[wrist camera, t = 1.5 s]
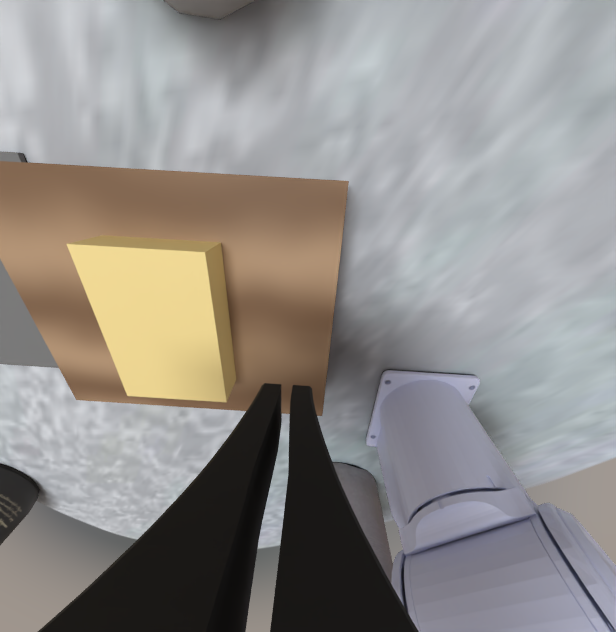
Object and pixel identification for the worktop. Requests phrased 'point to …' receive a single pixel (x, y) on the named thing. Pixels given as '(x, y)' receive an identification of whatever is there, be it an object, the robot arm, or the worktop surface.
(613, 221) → the worktop surface
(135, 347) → the yellow block
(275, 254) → the plate
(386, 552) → the pillar candle
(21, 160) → the mat
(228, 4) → the cup
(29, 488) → the jar
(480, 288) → the worktop surface
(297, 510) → the robot arm
